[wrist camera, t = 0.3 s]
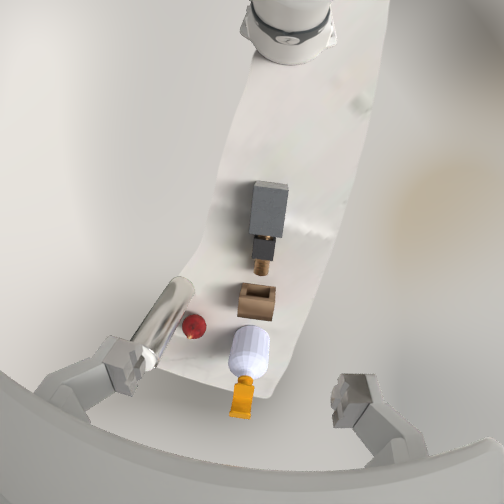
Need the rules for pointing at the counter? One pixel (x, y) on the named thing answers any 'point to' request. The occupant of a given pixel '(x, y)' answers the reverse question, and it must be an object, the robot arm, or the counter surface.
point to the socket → (256, 302)
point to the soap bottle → (247, 366)
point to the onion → (194, 326)
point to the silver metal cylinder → (163, 320)
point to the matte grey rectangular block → (268, 209)
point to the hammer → (263, 253)
